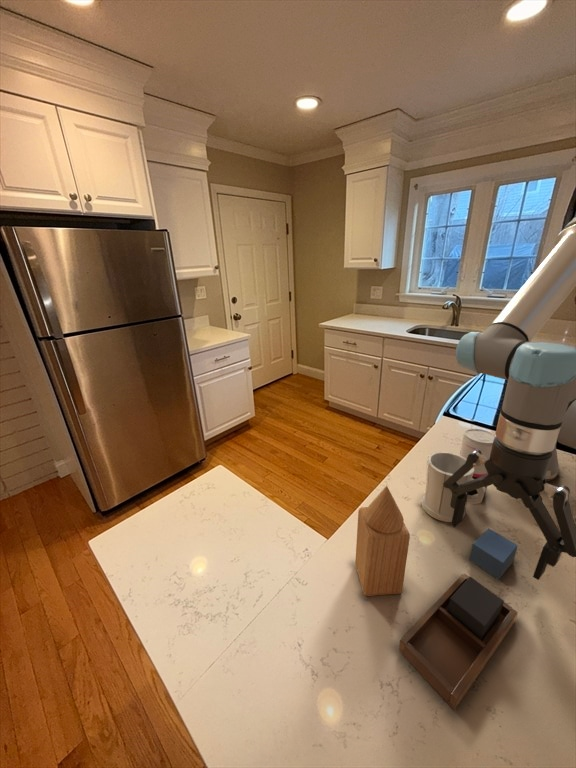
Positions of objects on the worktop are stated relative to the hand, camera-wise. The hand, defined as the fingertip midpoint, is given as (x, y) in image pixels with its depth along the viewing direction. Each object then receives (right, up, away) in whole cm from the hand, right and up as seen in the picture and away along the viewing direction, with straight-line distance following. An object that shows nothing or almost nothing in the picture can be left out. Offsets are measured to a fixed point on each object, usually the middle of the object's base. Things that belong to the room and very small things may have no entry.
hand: (493, 546), depth 57 cm
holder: (-12, -8, -10) cm, 17 cm away
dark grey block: (-8, -7, -8) cm, 14 cm away
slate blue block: (0, -3, +2) cm, 4 cm away
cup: (-2, +1, +14) cm, 14 cm away
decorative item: (-21, -5, -1) cm, 22 cm away
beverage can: (+6, +3, +19) cm, 21 cm away
